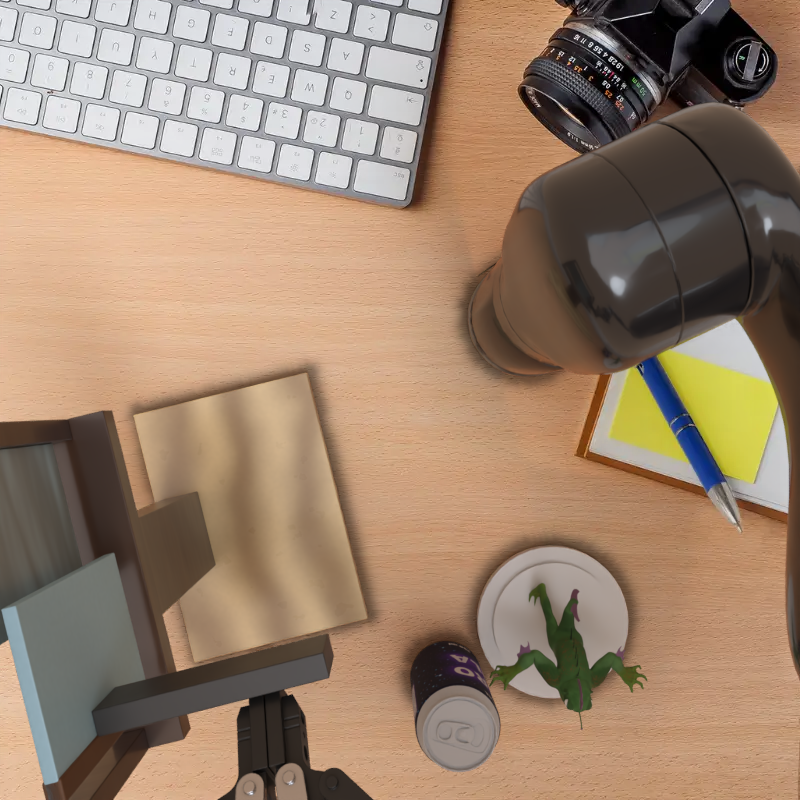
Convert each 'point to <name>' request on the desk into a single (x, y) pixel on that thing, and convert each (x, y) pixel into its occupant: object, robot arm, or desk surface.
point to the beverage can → (453, 707)
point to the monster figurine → (554, 625)
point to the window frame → (98, 550)
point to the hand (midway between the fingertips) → (270, 694)
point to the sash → (120, 673)
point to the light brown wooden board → (257, 514)
